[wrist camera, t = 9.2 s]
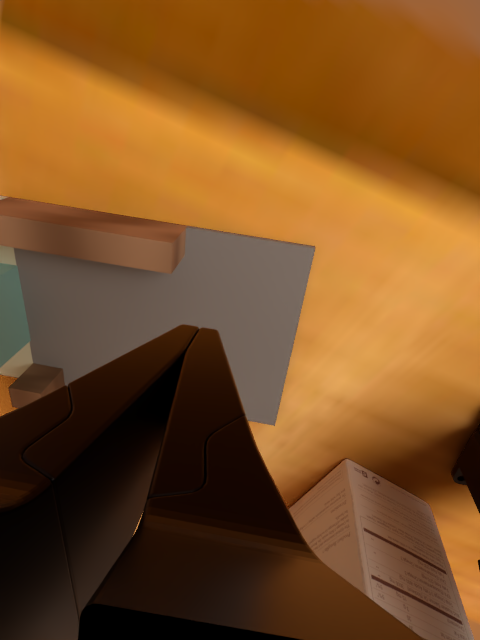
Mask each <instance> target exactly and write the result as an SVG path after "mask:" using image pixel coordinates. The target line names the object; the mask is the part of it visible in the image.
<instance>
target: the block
mask: <svg viewBox="0 0 480 640" xmlns="http://www.w3.org/2000/svg"><path fill="white" fill-rule="evenodd" d="M30 341H31V339H30V333H29V328H28V322H27V316H26V311H25V305H24V300H23V294H22V289H21V283H20V278H19V272H18V267H17V266H16V265H10V264H4V263H0V368H1V367H2V366H3V365H4V364H5V363H6V362H7V361H8V360H10V359H11V358H12V357H13V356H14V355H15V354H16V353H17V352H18V351H20V350H21V349H22V348H23V347H24V346H25V345H26V344H27V343H29V342H30Z"/></svg>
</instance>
